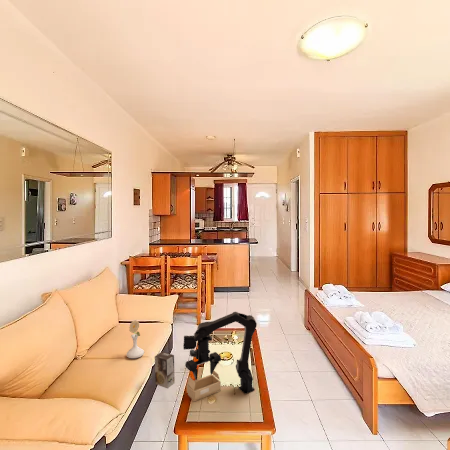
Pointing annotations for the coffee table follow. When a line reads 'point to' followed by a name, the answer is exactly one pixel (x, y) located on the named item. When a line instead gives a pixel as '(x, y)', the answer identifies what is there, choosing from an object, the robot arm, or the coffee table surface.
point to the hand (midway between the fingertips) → (203, 376)
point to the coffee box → (164, 369)
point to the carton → (204, 387)
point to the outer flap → (191, 382)
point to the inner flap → (215, 374)
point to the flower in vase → (134, 341)
